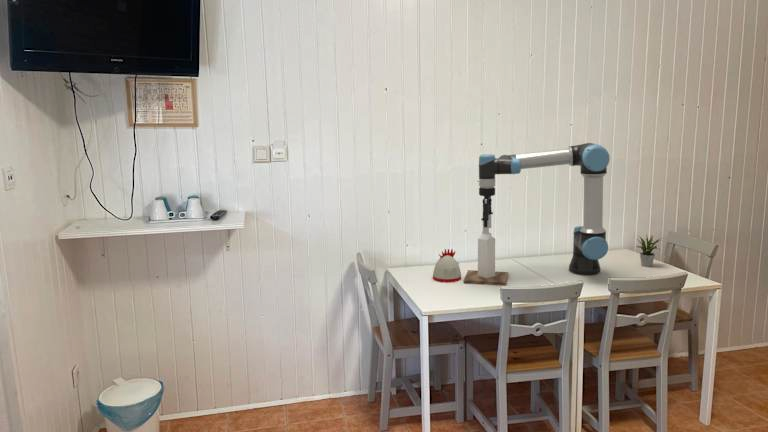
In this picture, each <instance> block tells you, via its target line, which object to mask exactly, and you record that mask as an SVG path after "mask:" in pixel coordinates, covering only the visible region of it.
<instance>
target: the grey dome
mask: <svg viewBox="0 0 768 432" xmlns="http://www.w3.org/2000/svg"><path fill="white" fill-rule="evenodd" d="M438 255H439V257H440V258H439V259H438V260H437V261H436V263H435V265H434V268H433V269H434V270H433V271H432V272H433V273H432V279H433V281H436V282H438V283H457V282H459V281H461V280H462V272H461V268H460V263H459V262H458V261H457V260H456V259H455V258H454V256H455V255H456V250H455V251H453V248H451V249H449V248H447V249H446V248H444V251H441V254H440V253H438Z"/></svg>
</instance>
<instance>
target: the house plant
mask: <svg viewBox="0 0 768 432" xmlns="http://www.w3.org/2000/svg"><path fill="white" fill-rule="evenodd" d="M645 236H646V237H645V239H643V238H642V237H641V236H640V235H638V237H639V239H640V240H639V239H638V238H636V240H637V241H638V243H640V244H641V245H637V246H635V248H639V249H641V250H642V252H640V253H639V258H640V265H641V267H645V268H646V267H647V268H651V267H653V263H654V259H655V256H656V254H655V252H654V251H656V250H658V251H661V248H660V247H659V246H660V245H657V244H658V243H659V242H661V241H662V239H663V238H658V239H657V240H655V241H654V242H653V238H654V236H653V235H651V236H650V238H648V235H647V234H646V235H645ZM645 240H646V241H645ZM652 251H653V252H652Z"/></svg>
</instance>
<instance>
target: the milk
mask: <svg viewBox="0 0 768 432" xmlns="http://www.w3.org/2000/svg"><path fill="white" fill-rule="evenodd" d="M477 271H478V276H480V277H483V278H490V277H494V276H495V271H496V238H495V237H494V236H492V232H489V234H483V230H482V232H481V234H480V236H479V237H478V238H477Z"/></svg>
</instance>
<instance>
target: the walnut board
mask: <svg viewBox="0 0 768 432" xmlns="http://www.w3.org/2000/svg"><path fill="white" fill-rule="evenodd" d="M508 278H509V271H496V270H495V276H494V277H490V278H483V277H480V276H478V270H475V269H474V270H471V269H469V270H467V272H466V274H465V276H464V279H463V282H462V283H463V284H468V285H469V284H470V285H471V284H472V285H488V286H489V285H491V286H507V283H506V282H508Z"/></svg>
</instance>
